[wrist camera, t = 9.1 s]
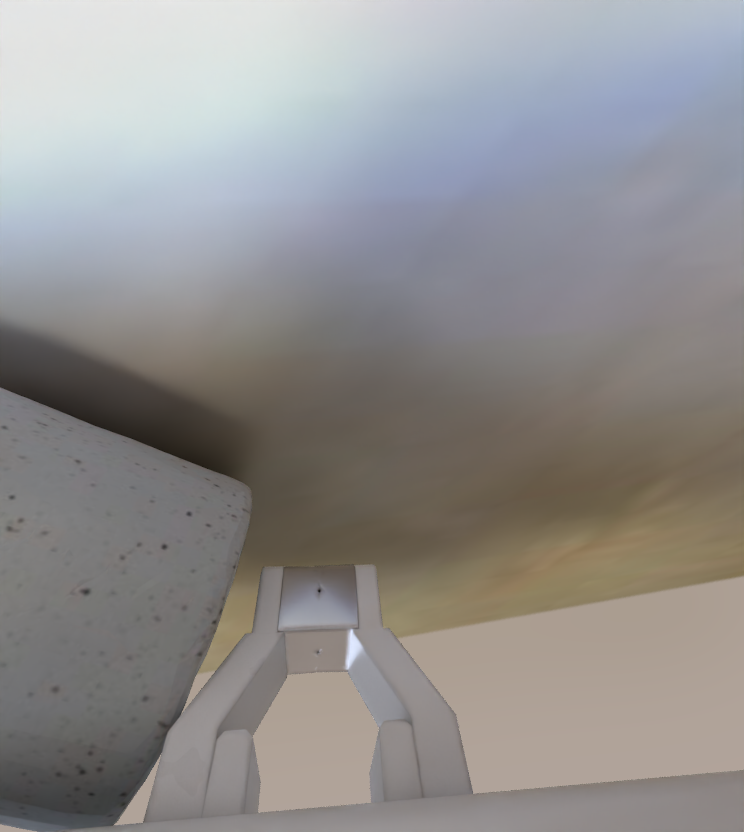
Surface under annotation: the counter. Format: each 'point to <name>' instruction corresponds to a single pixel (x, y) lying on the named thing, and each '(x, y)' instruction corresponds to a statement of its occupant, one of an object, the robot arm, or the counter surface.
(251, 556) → the counter surface
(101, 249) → the counter surface
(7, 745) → the ceramic mug
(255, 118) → the counter surface
